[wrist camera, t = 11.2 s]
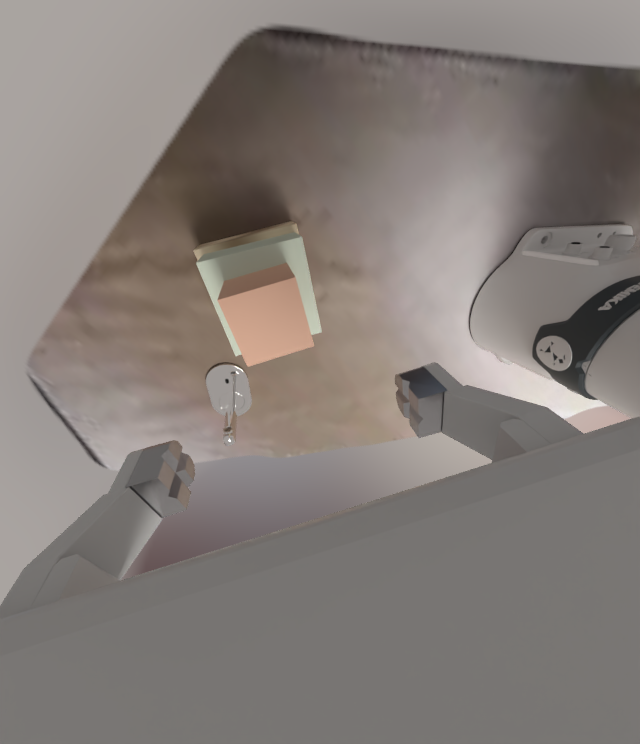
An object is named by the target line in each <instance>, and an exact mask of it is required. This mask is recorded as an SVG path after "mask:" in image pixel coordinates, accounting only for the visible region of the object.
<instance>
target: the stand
mask: <svg viewBox="0 0 640 744" xmlns="http://www.w3.org/2000/svg"><path fill="white" fill-rule="evenodd" d="M206 385H207V389H208V392H209V396H210V399H211V403H212V406H213V408H214V409H215V410H216V411H217V412H218V413H219V414H221V415H224V416H225V423H224V429H223V442H224V444H225V445H226V446H230V445H233V444H234V443H235V441H236V426H237V416H239V415H242V414H244V413H245V412H247V411H248V410H249V408H250V406H251V403H252V397H251V392H250V386H249V381H248V376H247V374H246V372H245V371H244V370H243V369H242V368H241V367H239V366H237V365H235V364H231V363H222V364H218V365H216V366H214V367H213V368H212V369H210V371H209V372H208V374H207V377H206ZM219 399H220V400H219Z"/></svg>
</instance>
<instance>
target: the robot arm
mask: <svg viewBox="0 0 640 744" xmlns="http://www.w3.org/2000/svg"><path fill="white" fill-rule="evenodd" d="M636 239H637V236H636V235H633V230H632V227H631V226H630V225H624V224H611V225H589V226H567V227H545V228H533V229H531V230H529V231H528V232H527V233H526V234H525V235H524V237H523V238H522V239H521V241H520V242H519V244H518V245H517V247H516V249H515V250H514V252H513V253H512V255H511V256H510V257H509V258H508V259H507V260H506V261H505V262H504V263H503V264H502V265H501V266H500V267H499V268H498V269H497V270H496V271H495V272H494V273H493V274H492V275H491V276H490V277H489V279H488V280H487V281H486V283H485V284H484V286H483V287H482V289H481V291H480V292H479V294H478V296H477V298H476V300H475V303H474V306H473V309H472V313H471V318H470V330H471V335H472V337H473V340H474V341H475V343H476V344H477V345H478V346H479V347H481V348H482V349H484V350H487V351H490V352H492V353H494V354H495V355H496V357H497V358H498V359H499V360H500V361H501V362H503V363H505V364H512V363H514V364H517V365H519V366H521V367H523V368H525V369H527V370H529V371H531V372H533V373H536V374H538V375H540V376H542V377H544V378H547V379H549V380H553V381H557V382H558V383H560V384H562V385H564V386H565V387H567V389H569V390H570V391H572V392H574V393H576V394H580V395H582V396H584V397H586V398H588V399H593V400H600V401H602V402H603V403H605V404H607V405H609V406H610V407H612V408H614V409H616V410H618V411H619V412H621V413H623V414H625V415H626V416H628V417H630V418H632V419H629V420H626V421H623V422H620V423H617V424H613V425H610V426H607V427H604V428H601V429H598V430H595V431H592V432H589V433H585V434H583V433H582V432H581V431H579V430H578V429H576V428H575V427H574V426H572V425H571V424H569V423H568V422H567V421H565V420H564V419H563V418H561V417H560V416H558V415H557V414H556V413H554V412H553V411H551V410H550V409H549V408H547V407H544V406H540V405H537V404H533V403H530V402H526V401H523V400H519V399H515V398H512V397H508V396H505V395H501V394H498V393H494V392H490V391H487V390H483V389H480V388H476V387H473V386H469V385H466V386H463V385H461V384H460V383H459V382H458V381H457V380H456V379H455V378H454V377H452V376H451V375H450V374H449V373H448V372H447V371H446V370H445V369H443V368H442V367H441V366H440V365H439V364H438V363H435V362H434V363H431V364H428V365H425V366H422V367H420V368H416V369H413V370H410V371H406V372H403V373H400V374H396V375H395V384H396V385H397V387H398V388H399V389H398V390H397V392H396V399H397V403H398V406H399V409H400V411H401V413H402V414H403V416H404V417H406V418H409V419H410V426H411V427H412V429H413V430H414V432H415V433H416V435H417V436H418V437H419V438H421V437H424V436H428V435H432V434H435V433H439V432H442V433H443V434H445V435H447V436H449V437H451V438H453V439H454V440H456V441H458V442H460V443H462V444H464V445H466V446H467V447H469V448H471V449H473V450H475V451H477V452H478V453H480V454H482V455H484V456H486V457H488V458H490V459H491V460H492V463H491V464H488V465H484V466H481V467H478V468H475V469H471V470H468V471H465V472H462V473H459V474H456V475H453V476H449V477H446V478H443V479H440V480H437V481H434V482H430V483H427V484H424V485H421V486H418V487H415V488H412V489H408V490H405V491H402V492H399V493H396V494H393V495H389V496H386V497H383V498H380V499H377V500H374V501H371V502H367V503H364V504H361V505H358V506H355V507H352V508H349V509H345V510H342V511H339V512H336V513H333V514H330V515H327V516H323V517H321V518H317V519H314V520H311V521H308V522H305V523H301V524H298V525H295V526H292V527H289V528H286V529H282V530H279V531H276V532H273V533H270V534H267V535H263V536H260V537H257V538H254V539H251V540H248V541H244V542H241V543H238V544H235V545H232V546H229V547H225V548H222V549H219V550H216V551H213V552H210V553H206V554H203V555H200V556H197V557H194V558H191V559H188V560H185V561H181V562H178V563H175V564H172V565H169V566H165V567H163V568H159V569H156V570H153V571H150V572H147V573H144V574H140V575H137V576H134V577H131V578H128V579H124V580H121V579H122V578H123V576H124V575H125V573H126V572H127V570H128V569H129V567H130V566H131V564H132V563H133V561H134V560H135V559H136V557H137V556H138V554H139V553H140V551H141V550H142V548H143V547H144V545H145V544H146V543H147V541H148V540H149V538H150V537H151V535H152V534H153V532H154V531H155V529H156V528H157V527H158V525H159V524H160V522H161V521H162V518H164V517H167V516H169V515H172V514H175V513H178V512H181V511H184V510H187V506H188V503H189V498H190V494H191V491H190V490H189V488H188V487H189V486H190V484H191V483H192V482H193V480H194V476H195V469H194V464H193V461H192V459H191V458H190V456H189V455H187V454H184V453H182V446H181V445H180V443H179V442H178V441H174V440H173V441H169V442H166V443H162V444H158V445H155V446H151V447H147V448H145V449H141V450H137V451H134V452H131V453H130V454H129V455H128V456H127V458H126V459H125V461H124V463H123V465H122V467H121V469H120V471H119V473H118V475H117V477H116V479H115V481H114V483H113V485H112V487H111V489H110V491H109V493H108V494H105V495H103V496H102V497H101V498H99V499H98V500H97V501H96V502H95V503H94V504H93V505H92V506H91V507H90V508H89V509H88V510H87V511H85V513H83V514H82V515H81V516H80V517H79V518H78V519H77V520H76V521H75V522H74V523H73V524H72V525H70V526H69V527H68V528H67V529H66V530H65V531H64V532H63V533H62V534H61V535H60V536H59V537H58V538H56V539H55V540H54V541H53V542H52V543H51V544H50V545H49V546H48V547H47V548H46V549H45V550H44V551H42V552H41V553H40V554H39V555H38V556H37V557H36V558H35V559H34V560H33V561H32V562H31V563H30V564H28V565H27V566H26V567H25V568H24V569H23V571H22V572H21V574H20V576H19V577H18V579H17V580H16V582H15V584H14V585H13V587H12V588H11V590H10V591H9V593H8V594H7V596H6V598H5V599H4V601H3V603H2V604H1V606H0V744H640V248H639V247H632V246H633V245H634V243H635V241H636ZM120 580H121V581H120Z"/></svg>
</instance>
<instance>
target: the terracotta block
mask: <svg viewBox="0 0 640 744" xmlns="http://www.w3.org/2000/svg"><path fill="white" fill-rule="evenodd" d="M217 301H218V303H219V305H220V307H221V309H222V312H223V314H224V316H225V318H226V320H227V323H228V325H229V327H230V329H231V331H232V334H233V336H234V338H235V340H236V342H237V345H238V347H239V349H240V351H241V353H242V356H243V358H244V360H245V362H246V364H247V367H248V366H252V365H255V364H258V363H261V362H265V361H268V360H271V359H274V358H277V357H281V356H284V355H287V354H290V353H293V352H297V351H300V350H303V349H306V348H310V347H313V346H314V343H313V339H312V335H311V332H310V328H309V324H308V321H307V317H306V314H305V310H304V306H303V303H302V299H301V295H300V292H299V288H298V284H297V281H296V277H295V275H294V274H293V272H292V271H291V269H290V267H289V266H288V264H287V263H284V264H281V265H277V266H274V267H270V268H267V269H264V270H260V271H257V272H253V273H250V274H246V275H243V276H240V277H236V278H233V279H229V280H226V281H224V283H223V286H222V288H221V291H220V294H219V297H218V300H217Z"/></svg>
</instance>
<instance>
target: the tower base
mask: <svg viewBox="0 0 640 744" xmlns="http://www.w3.org/2000/svg"><path fill="white" fill-rule="evenodd" d="M293 232H296V233H297V234H299V232H298V227H297V223H294V222H292V221H290V222H286V223H282V224H278V225H274V226H271V227H267V228H263V229H259V230H255V231H251V232H247V233H244V234H240V235H236V236H232V237H228V238H224V239H221V240H217V241H213V242H209V243H205V244H201V245H199V246H198V247H197V248H196V249H194V250H193V251H194V253H195V256H196V258H197V260H199V259H200V258H201V257H202V256H203V254H207V253H211V252H215V251H219V250H223V249H227V248H231V247H235V246H239V245H244V244H248V243H252V242H256V241H260V240H264V239H268V238H272V237H276V236H280V235H284V234H288V233H293Z"/></svg>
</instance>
